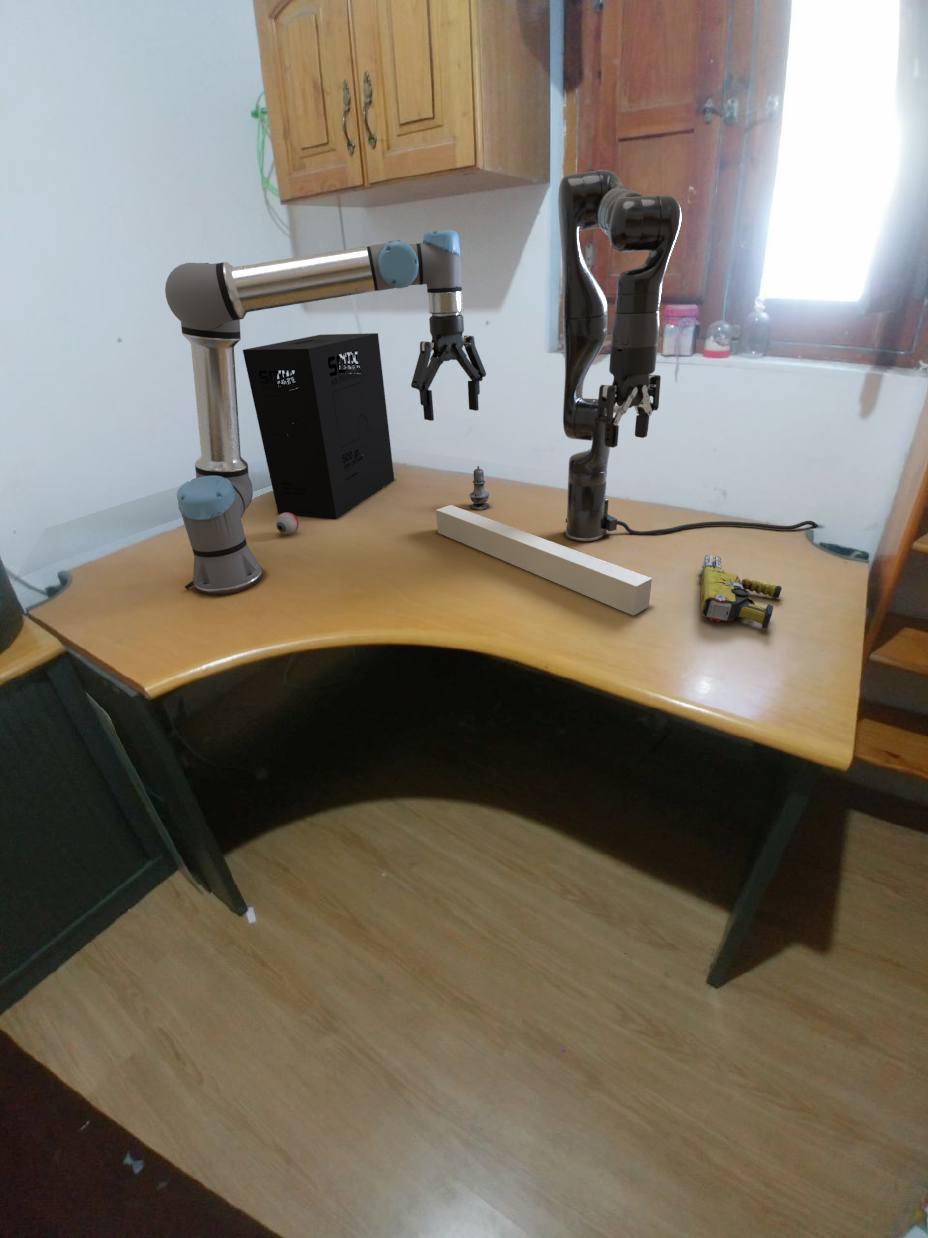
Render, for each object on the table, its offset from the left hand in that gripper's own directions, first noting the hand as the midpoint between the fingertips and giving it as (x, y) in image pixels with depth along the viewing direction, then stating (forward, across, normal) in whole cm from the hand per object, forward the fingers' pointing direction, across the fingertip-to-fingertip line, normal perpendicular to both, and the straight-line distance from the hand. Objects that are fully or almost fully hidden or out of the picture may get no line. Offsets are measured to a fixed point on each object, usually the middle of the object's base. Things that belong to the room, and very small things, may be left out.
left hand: (452, 414), depth 142 cm
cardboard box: (+31, +5, -54) cm, 63 cm away
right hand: (-1, 0, +50) cm, 50 cm away
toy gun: (+31, -18, +68) cm, 76 cm away
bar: (+31, 0, +25) cm, 40 cm away
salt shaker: (+31, -18, -13) cm, 38 cm away
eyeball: (+31, +31, -35) cm, 56 cm away
